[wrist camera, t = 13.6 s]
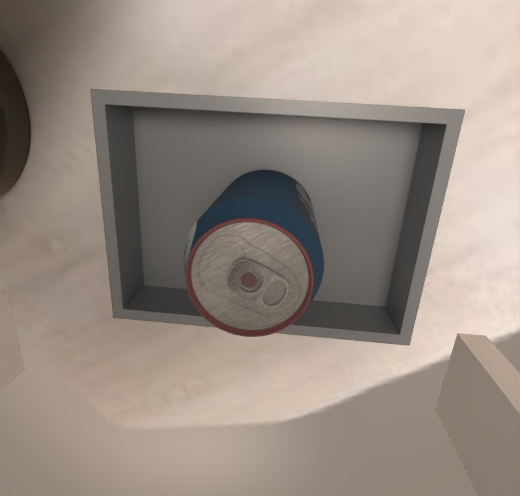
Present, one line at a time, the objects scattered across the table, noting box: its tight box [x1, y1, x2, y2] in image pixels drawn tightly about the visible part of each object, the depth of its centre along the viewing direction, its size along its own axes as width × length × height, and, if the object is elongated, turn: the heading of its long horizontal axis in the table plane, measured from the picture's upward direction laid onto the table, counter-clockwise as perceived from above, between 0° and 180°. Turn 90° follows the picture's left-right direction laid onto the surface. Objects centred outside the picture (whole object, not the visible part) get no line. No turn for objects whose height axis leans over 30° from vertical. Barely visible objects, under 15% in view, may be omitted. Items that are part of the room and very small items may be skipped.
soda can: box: [183, 170, 324, 337], centre depth 21 cm, size 7×7×12 cm
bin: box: [90, 89, 465, 345], centre depth 26 cm, size 22×16×5 cm
